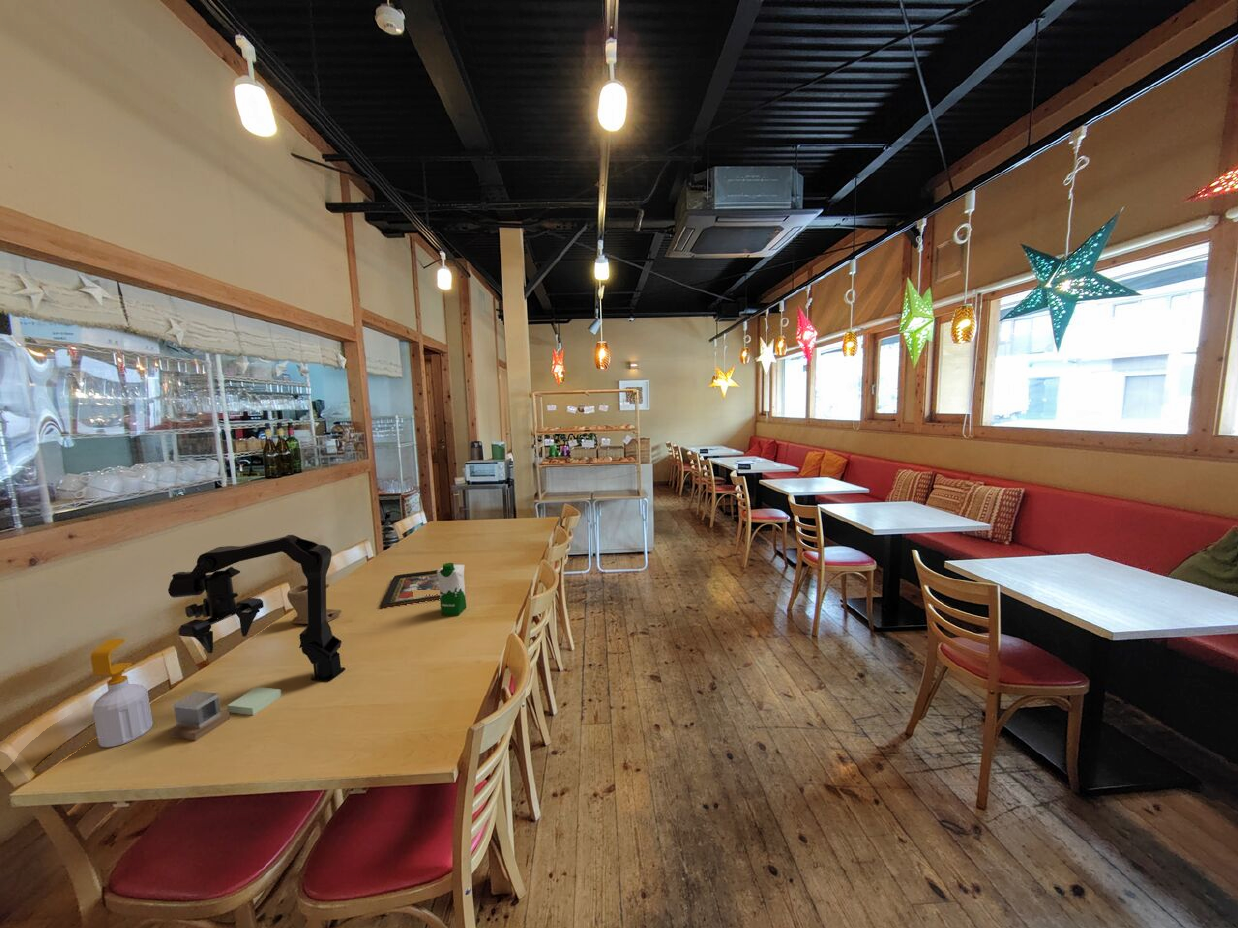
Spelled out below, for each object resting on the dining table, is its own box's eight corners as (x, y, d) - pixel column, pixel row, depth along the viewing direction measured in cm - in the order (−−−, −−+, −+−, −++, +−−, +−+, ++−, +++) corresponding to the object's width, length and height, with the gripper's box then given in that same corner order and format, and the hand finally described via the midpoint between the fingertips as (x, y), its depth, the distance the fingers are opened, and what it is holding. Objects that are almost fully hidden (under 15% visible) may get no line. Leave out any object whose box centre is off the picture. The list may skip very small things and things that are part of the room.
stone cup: (282, 628, 166) (277, 589, 164) (308, 613, 178) (304, 577, 176) (319, 629, 164) (314, 590, 162) (343, 615, 176) (339, 578, 174)
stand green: (281, 695, 125) (280, 689, 125) (253, 715, 117) (252, 708, 117) (257, 693, 127) (256, 686, 126) (228, 712, 119) (227, 705, 119)
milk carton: (438, 616, 172) (434, 566, 170) (449, 606, 181) (445, 558, 179) (459, 616, 171) (456, 566, 169) (469, 606, 180) (466, 558, 178)
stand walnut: (229, 718, 116) (228, 711, 116) (195, 740, 109) (194, 733, 108) (204, 715, 118) (203, 708, 118) (169, 737, 110) (168, 729, 110)
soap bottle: (163, 721, 116) (148, 632, 113) (125, 747, 107) (109, 651, 104) (127, 723, 116) (112, 633, 113) (87, 749, 107) (69, 653, 104)
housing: (221, 714, 115) (218, 693, 114) (199, 728, 110) (196, 706, 109) (199, 712, 116) (196, 690, 115) (177, 725, 111) (173, 703, 110)
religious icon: (385, 581, 211) (384, 575, 211) (462, 569, 226) (462, 563, 226) (380, 614, 177) (379, 607, 177) (472, 597, 192) (471, 591, 192)
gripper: (232, 578, 137) (239, 626, 139) (158, 604, 119) (168, 659, 121) (261, 580, 135) (268, 629, 136) (190, 607, 116) (199, 663, 118)
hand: (227, 644), depth 128 cm, fingers open, 9 cm apart
